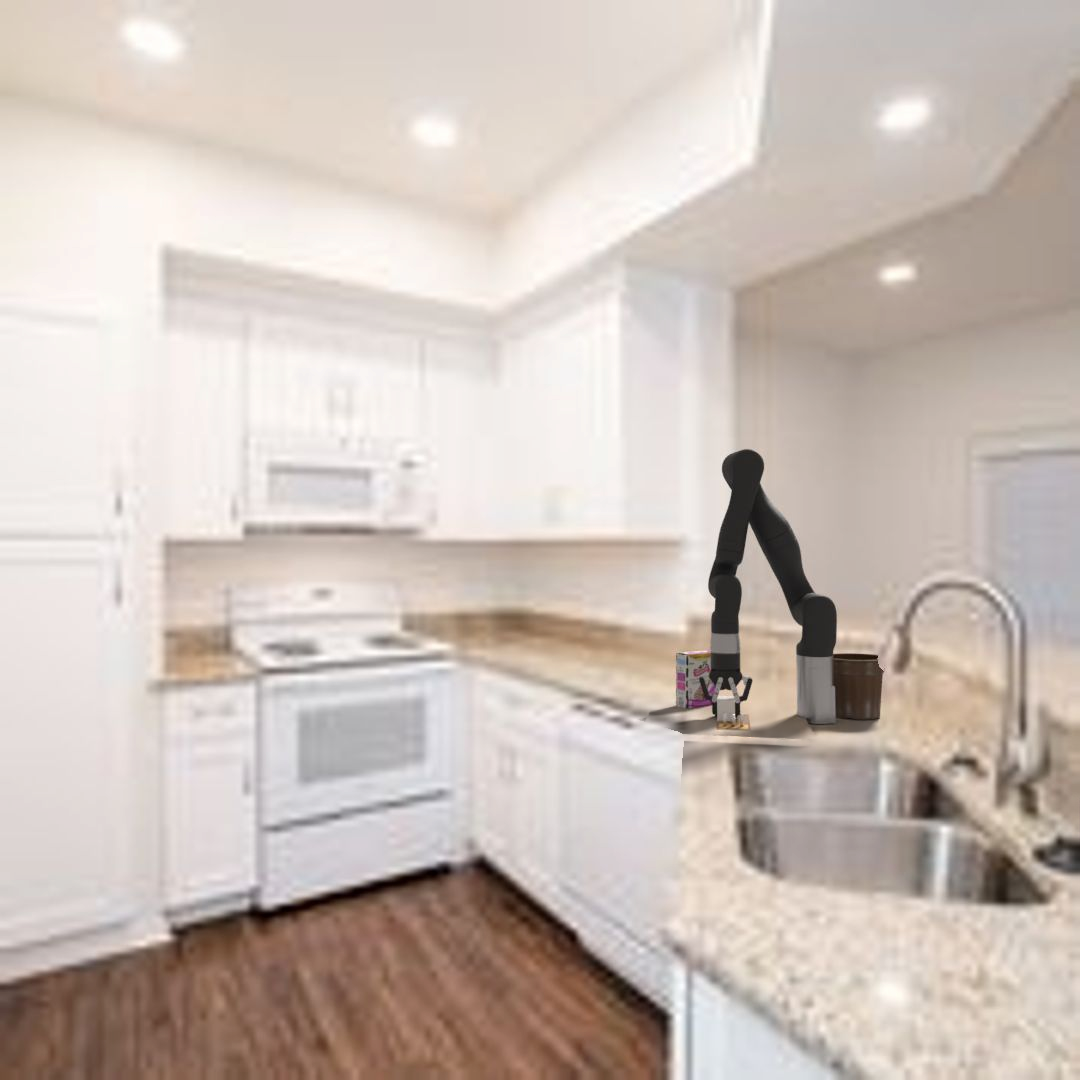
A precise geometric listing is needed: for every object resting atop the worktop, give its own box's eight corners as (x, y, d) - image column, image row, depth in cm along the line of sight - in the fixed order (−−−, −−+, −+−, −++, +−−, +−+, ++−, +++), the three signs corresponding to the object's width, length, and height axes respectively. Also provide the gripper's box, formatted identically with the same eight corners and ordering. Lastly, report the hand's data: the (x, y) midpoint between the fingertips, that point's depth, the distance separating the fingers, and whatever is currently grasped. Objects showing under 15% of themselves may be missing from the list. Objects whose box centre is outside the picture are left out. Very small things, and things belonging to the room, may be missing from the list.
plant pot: (810, 712, 221) (809, 654, 221) (856, 708, 227) (855, 651, 227) (853, 724, 206) (852, 661, 206) (901, 719, 212) (900, 658, 212)
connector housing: (717, 714, 212) (717, 695, 212) (734, 715, 211) (734, 696, 211) (717, 720, 204) (717, 700, 205) (735, 721, 203) (734, 701, 204)
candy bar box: (687, 714, 221) (687, 654, 221) (675, 711, 225) (674, 652, 226) (717, 709, 227) (716, 651, 227) (704, 706, 231) (704, 649, 231)
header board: (748, 720, 212) (748, 714, 212) (750, 736, 193) (750, 730, 193) (717, 718, 214) (717, 713, 214) (716, 735, 195) (716, 729, 195)
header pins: (743, 726, 197) (743, 714, 197) (743, 727, 197) (743, 714, 197) (723, 725, 199) (723, 713, 199) (723, 726, 198) (723, 714, 198)
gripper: (753, 649, 210) (754, 714, 210) (697, 648, 213) (698, 712, 213) (754, 652, 203) (755, 720, 202) (696, 651, 206) (697, 718, 206)
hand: (726, 716), depth 208 cm, fingers closed on connector housing, 4 cm apart
